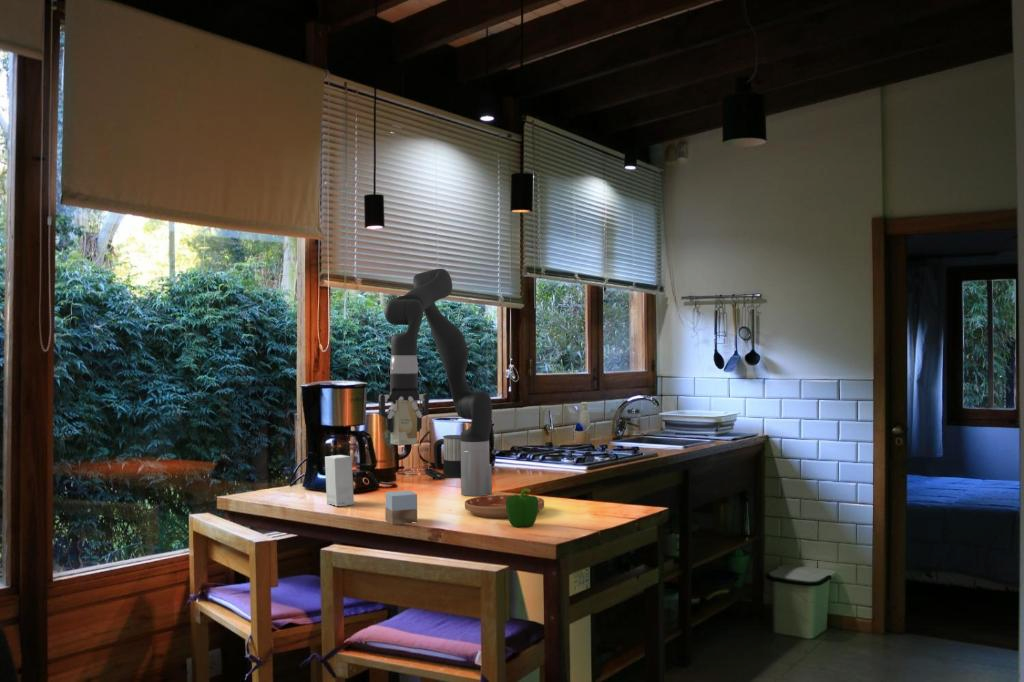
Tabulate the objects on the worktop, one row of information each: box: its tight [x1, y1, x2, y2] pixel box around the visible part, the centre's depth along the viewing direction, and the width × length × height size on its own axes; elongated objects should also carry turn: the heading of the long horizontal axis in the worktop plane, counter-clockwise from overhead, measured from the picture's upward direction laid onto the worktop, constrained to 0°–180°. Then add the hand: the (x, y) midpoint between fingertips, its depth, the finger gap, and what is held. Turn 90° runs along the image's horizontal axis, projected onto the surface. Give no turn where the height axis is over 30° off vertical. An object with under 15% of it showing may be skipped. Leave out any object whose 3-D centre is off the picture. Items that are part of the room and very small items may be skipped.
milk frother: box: [423, 434, 461, 480], centre depth 332 cm, size 14×16×15 cm
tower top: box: [385, 490, 418, 511], centre depth 251 cm, size 7×7×4 cm
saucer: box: [464, 494, 545, 519], centre depth 263 cm, size 23×23×4 cm
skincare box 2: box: [390, 399, 419, 446], centre depth 251 cm, size 6×4×12 cm
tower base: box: [384, 506, 418, 526], centre depth 251 cm, size 7×7×4 cm
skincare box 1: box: [324, 454, 355, 507], centre depth 278 cm, size 8×6×15 cm
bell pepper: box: [506, 488, 539, 528], centre depth 244 cm, size 8×8×10 cm
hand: (403, 431), depth 251 cm, fingers closed on skincare box 2, 7 cm apart
